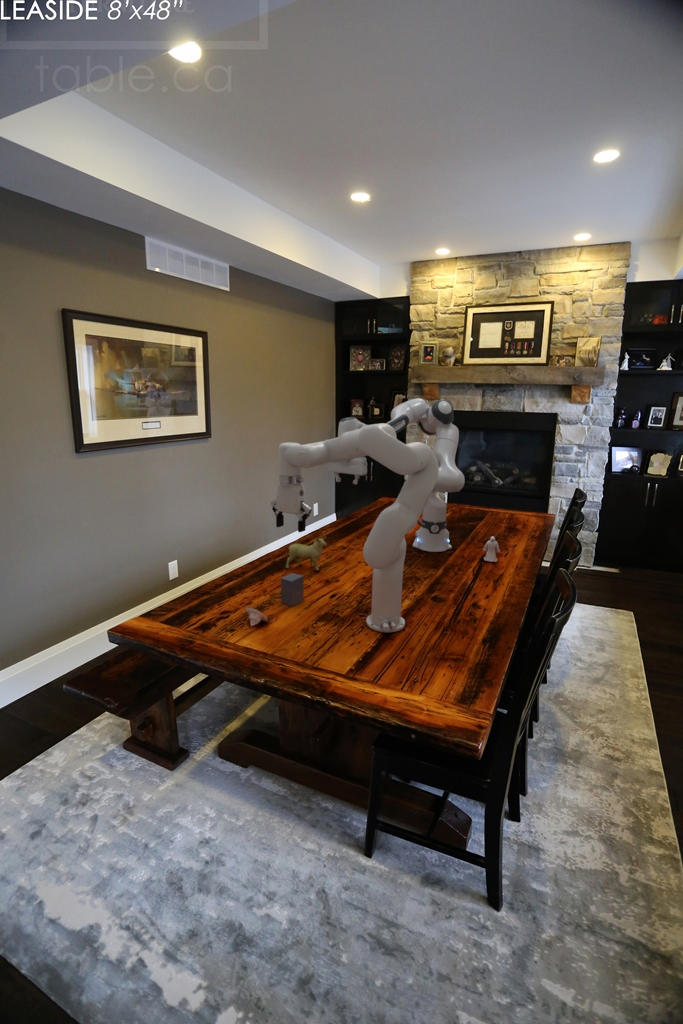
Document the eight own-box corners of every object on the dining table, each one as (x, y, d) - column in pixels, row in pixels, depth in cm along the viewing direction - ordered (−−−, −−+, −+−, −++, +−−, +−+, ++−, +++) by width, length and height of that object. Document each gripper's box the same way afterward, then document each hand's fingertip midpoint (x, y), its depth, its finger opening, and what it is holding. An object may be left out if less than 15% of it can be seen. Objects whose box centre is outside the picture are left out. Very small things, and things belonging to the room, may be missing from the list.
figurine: (481, 562, 222) (483, 536, 219) (482, 556, 230) (484, 531, 227) (499, 564, 220) (501, 538, 217) (499, 558, 228) (501, 533, 225)
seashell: (251, 634, 162) (235, 615, 161) (262, 623, 165) (246, 604, 164) (262, 630, 156) (245, 610, 155) (273, 618, 159) (257, 599, 158)
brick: (303, 600, 179) (303, 576, 177) (291, 606, 174) (291, 581, 172) (292, 597, 182) (292, 572, 180) (281, 602, 177) (280, 578, 175)
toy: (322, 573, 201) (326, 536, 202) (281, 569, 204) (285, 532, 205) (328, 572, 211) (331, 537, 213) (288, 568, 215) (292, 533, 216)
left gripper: (317, 481, 166) (317, 530, 170) (278, 475, 175) (278, 522, 179) (303, 484, 160) (303, 535, 164) (263, 478, 169) (264, 527, 173)
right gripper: (370, 454, 226) (369, 484, 229) (333, 450, 237) (333, 479, 241) (362, 456, 221) (361, 486, 224) (325, 452, 232) (325, 481, 236)
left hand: (290, 528), depth 172 cm, fingers open, 9 cm apart
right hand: (346, 482), depth 233 cm, fingers open, 8 cm apart
